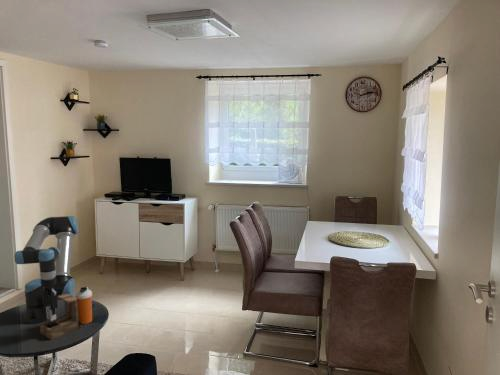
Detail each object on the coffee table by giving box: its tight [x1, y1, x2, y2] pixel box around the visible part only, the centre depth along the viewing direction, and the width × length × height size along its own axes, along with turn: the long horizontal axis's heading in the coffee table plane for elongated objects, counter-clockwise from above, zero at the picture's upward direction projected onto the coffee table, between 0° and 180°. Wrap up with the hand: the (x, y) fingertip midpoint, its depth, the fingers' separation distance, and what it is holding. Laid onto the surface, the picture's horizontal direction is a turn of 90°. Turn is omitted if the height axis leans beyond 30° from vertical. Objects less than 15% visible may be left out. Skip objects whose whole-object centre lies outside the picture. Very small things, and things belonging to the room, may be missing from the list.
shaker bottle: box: [75, 286, 93, 325], centre depth 239 cm, size 9×9×20 cm
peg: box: [47, 304, 56, 328], centre depth 225 cm, size 4×4×12 cm
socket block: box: [39, 293, 80, 341], centre depth 228 cm, size 12×16×18 cm
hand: (51, 318), depth 225 cm, fingers closed on peg, 4 cm apart
